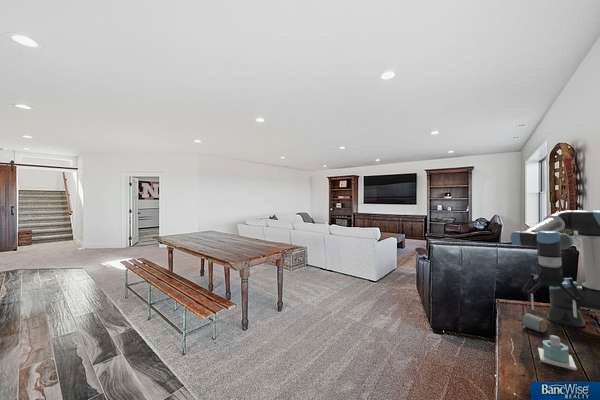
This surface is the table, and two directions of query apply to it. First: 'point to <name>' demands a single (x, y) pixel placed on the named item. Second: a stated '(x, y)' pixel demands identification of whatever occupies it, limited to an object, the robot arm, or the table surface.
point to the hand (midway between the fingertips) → (553, 312)
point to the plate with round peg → (570, 364)
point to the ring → (556, 351)
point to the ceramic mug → (534, 323)
